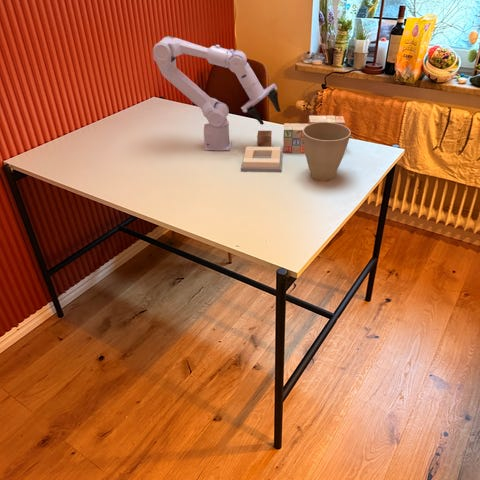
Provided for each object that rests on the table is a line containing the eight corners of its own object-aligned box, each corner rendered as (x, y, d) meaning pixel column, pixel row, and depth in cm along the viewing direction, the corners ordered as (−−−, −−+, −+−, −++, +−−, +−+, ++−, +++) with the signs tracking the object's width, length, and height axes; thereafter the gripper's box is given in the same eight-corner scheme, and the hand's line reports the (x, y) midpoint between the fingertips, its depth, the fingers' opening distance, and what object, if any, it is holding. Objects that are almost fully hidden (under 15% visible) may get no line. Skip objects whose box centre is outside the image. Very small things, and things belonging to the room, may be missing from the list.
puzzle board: (240, 171, 156) (240, 162, 154) (244, 153, 167) (244, 145, 165) (281, 172, 154) (281, 163, 152) (282, 154, 165) (282, 146, 163)
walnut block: (257, 151, 168) (257, 135, 165) (258, 145, 172) (258, 130, 169) (270, 151, 168) (270, 136, 164) (271, 145, 172) (271, 130, 168)
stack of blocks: (282, 153, 166) (283, 121, 159) (283, 146, 171) (284, 115, 164) (341, 154, 164) (345, 122, 157) (340, 147, 169) (343, 115, 162)
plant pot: (317, 191, 143) (321, 144, 134) (292, 172, 154) (293, 127, 144) (354, 179, 148) (360, 133, 139) (327, 161, 159) (331, 118, 150)
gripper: (238, 97, 153) (258, 130, 159) (271, 72, 154) (290, 106, 160) (232, 96, 159) (252, 128, 165) (264, 72, 160) (283, 105, 166)
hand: (270, 117), depth 163 cm, fingers open, 7 cm apart
